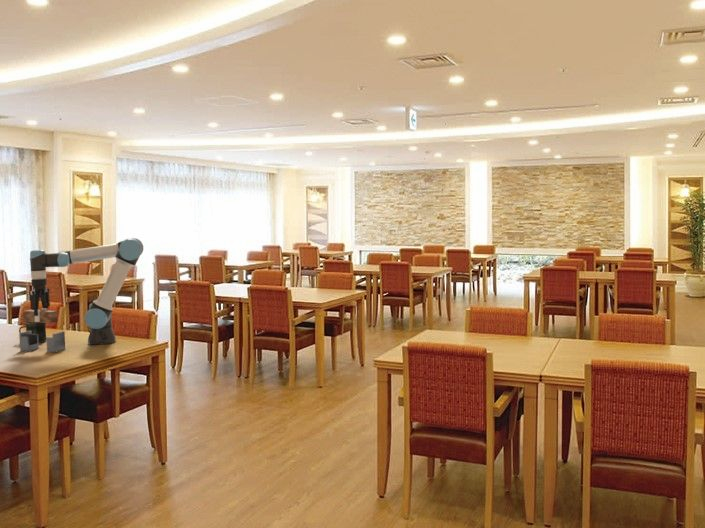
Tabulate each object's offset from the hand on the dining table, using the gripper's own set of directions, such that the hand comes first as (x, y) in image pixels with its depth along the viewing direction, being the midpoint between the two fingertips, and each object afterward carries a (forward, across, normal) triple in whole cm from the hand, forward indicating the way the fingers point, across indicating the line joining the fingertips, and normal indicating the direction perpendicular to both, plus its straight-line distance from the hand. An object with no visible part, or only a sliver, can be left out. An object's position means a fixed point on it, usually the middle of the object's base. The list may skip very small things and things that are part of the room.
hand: (41, 320), depth 379 cm
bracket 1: (+16, 0, -8) cm, 18 cm away
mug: (+17, -20, -22) cm, 34 cm away
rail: (+1, 0, 0) cm, 1 cm away
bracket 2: (+16, 0, +8) cm, 18 cm away
